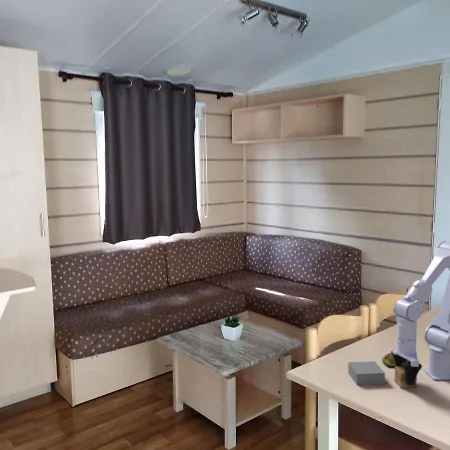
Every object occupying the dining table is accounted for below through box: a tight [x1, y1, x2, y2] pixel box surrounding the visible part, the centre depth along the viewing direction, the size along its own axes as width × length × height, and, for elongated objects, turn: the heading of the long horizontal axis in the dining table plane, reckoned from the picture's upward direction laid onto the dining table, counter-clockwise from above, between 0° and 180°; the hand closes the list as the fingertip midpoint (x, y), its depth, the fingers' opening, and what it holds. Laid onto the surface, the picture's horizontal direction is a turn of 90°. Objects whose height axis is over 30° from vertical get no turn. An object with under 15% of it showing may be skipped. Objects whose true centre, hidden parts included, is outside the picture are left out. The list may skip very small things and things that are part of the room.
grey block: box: [347, 361, 386, 386], centre depth 155 cm, size 9×9×4 cm
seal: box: [381, 352, 408, 368], centre depth 168 cm, size 9×5×15 cm
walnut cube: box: [394, 366, 418, 389], centre depth 150 cm, size 5×5×5 cm
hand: (405, 379), depth 150 cm, fingers open, 7 cm apart
